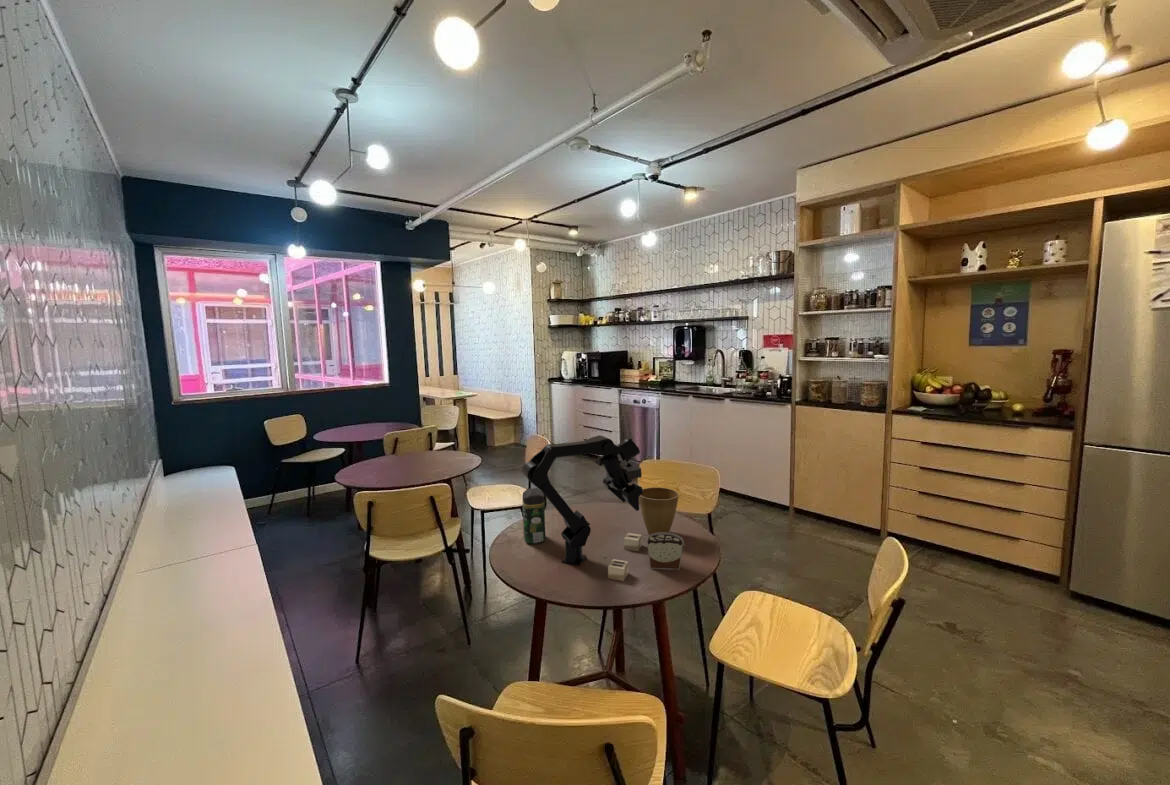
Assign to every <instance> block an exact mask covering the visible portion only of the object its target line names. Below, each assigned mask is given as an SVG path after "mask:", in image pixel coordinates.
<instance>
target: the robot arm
mask: <svg viewBox="0 0 1170 785" xmlns="http://www.w3.org/2000/svg"><path fill="white" fill-rule="evenodd" d="M640 452H641V451H640V448H639V446H637V444H636V442H634V441H633V439H632V438H631V437H627V438H625V439H624V440H623V441H621V442H620V443H618V444H616V443H614V440H612V439H611V438H609V437H606V436H604V435H596V436H593V437H589V438H588V439H586V440H582V441H574V442H565V443H563V442H562V443H554V444H552V443H548V444H546V445H545V446H544V447H543V448H542V449H541V450H540V451H538V452H537V453H536V454H535V455H534V456H533V457H532V458H531V459H530V460H528V461H527V462H525V463H524V464H523V466H522V468H521V469H522V470H521V473H522V475H523V476H524V477H525V478H526V479H527V481H529V482H530V483H531V484H532V485H533V486H535V487H536V488H537V489H539V490H541V491H542V492H543V494H544V497H545V498H546V499H547V500H548V501H549V503H550V504H551V505H552V506H553V507H554V508H555V510H556V511H557V512H558V513H559V514H560V516H561V517H562V519H563V521H564V524H565V526H566V527H565V528H564V529H563V531H562V532H561V533H560V534H561V536H562V539H563V540H565V543H564V545H565V548H564V549H565V553H564V554H565V556H564V557H563V558H562V560H561V563H565V564H571V565H577V566H581V564H582V563H583V562H584V561H585V559H586V558H587V555H586V554H583V547H585V546H586V543H587V541H588V537H589V536H590V535H591V527H590V526H591V523H590V522H589V521H587V519H586V517H585V516H584V515H583V514H582V513H581V512H580V511H579V510H577V509H576V510H575V511H574V510H572V508H571V507H570V506H569V505H568V504H567V502H566V501H565V500H564V499H563V497H562V496H561V495H560V493H559V492H558V491H557V490H556V488H555V487H554V486H553V484H551V480H550V478H549V476H548V474H547V473H548V471H549V470H550V469H551V468H552V465H553V463H554V461H555V460H556V459H557V458H562V457H563V458H564V457H571V456H580V455H595V456H597V458H596V460H595V462H594V463H595V464H596V465H597V466H600V467H602V466H603V467H604V470H605V472H606V473H605V476H606V477H604V478H603V480H602V484H603V486H604V487H605V488H606V490H608V491H610V492H611V493H612V494H613V495H614V496H615V497H616V498H618V500H620V501H621V502H622V503H625V502H626V503H627V504H629V506H630V507H631V508H633V509H634V510H635V511H636V512H639V510H640V501H639V496H640V495H641V494H643V492H644V491H643V489H644V488H643V487H642V486H640V485H639V484H637V483H632V482H633V480H634V479H637V478H639V479H640V478H642V476H643V475H642V467H640V466H638V465H635V464H632V463H631V462H629V461H630V460H632V459H634V458H636V457H637V456H638V455H640V454H641V453H640ZM621 462H624V464H623V465H622V463H621ZM631 483H632V484H631Z"/></svg>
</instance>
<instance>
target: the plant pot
mask: <svg viewBox="0 0 1170 785" xmlns="http://www.w3.org/2000/svg"><path fill="white" fill-rule="evenodd" d="M642 489H643V491H644V492H643V494H641V495H640V496H639V508H640V511H641V516H642V520H643V522H644V525H645V529H646V531H647V534H648V536H649V535H651V534H653V533H658V532H668V533H670V531H671V528H672V526H673V523H674V519H675V516H676V511H677V508H678V502H679V495H680V494H679V492H678V491H676V490H675V489H671V488H668V487H661V486H660V487H659V486H658V487H655V486H654V487H652V486H651V487H647V488H642Z"/></svg>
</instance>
